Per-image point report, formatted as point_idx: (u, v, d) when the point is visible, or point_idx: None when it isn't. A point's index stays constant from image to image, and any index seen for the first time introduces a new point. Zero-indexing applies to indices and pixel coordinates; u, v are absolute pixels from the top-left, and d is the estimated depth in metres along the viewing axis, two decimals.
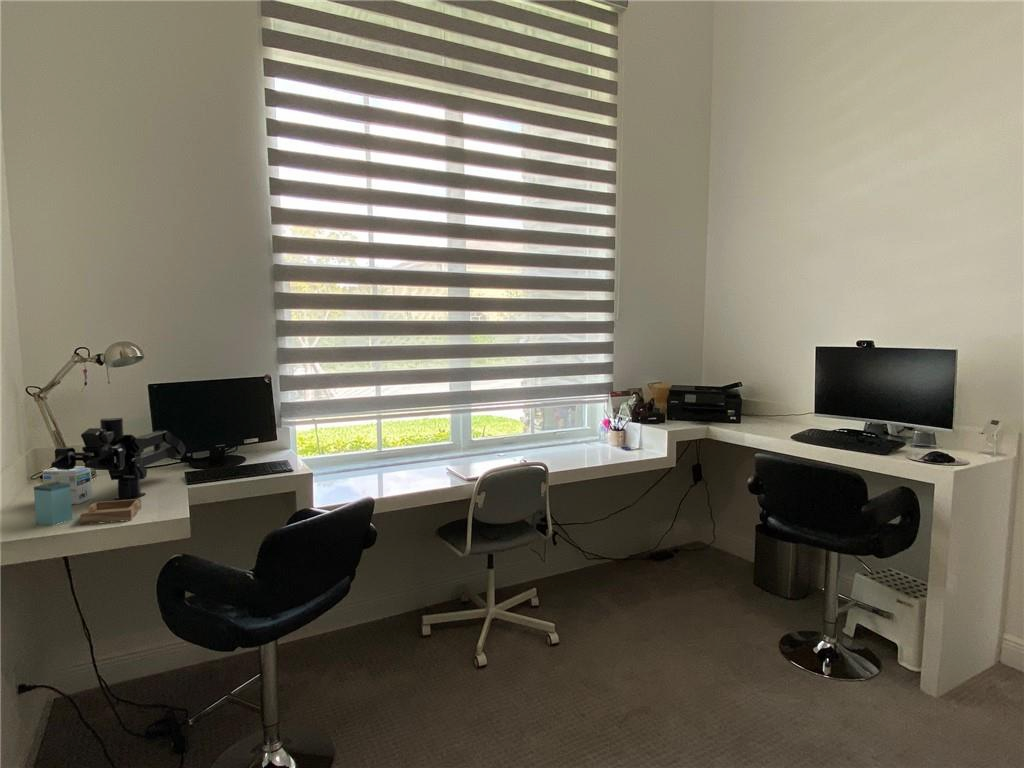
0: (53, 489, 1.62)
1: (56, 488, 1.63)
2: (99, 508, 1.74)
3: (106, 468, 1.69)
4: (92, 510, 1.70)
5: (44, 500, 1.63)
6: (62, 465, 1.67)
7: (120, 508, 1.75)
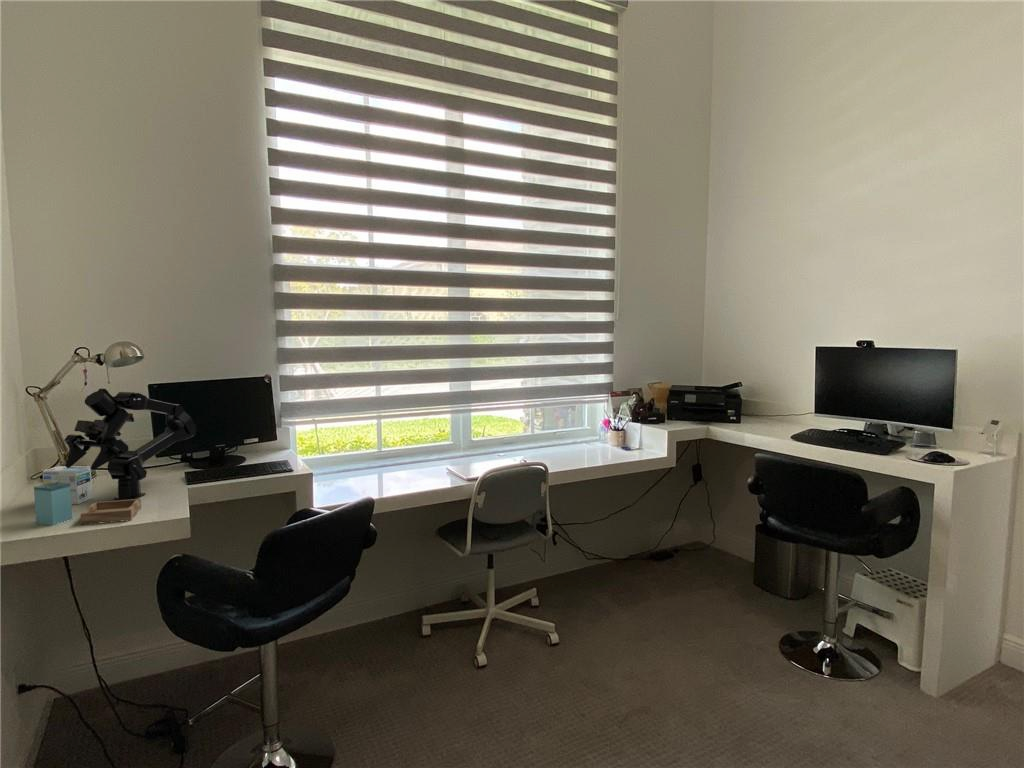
0: (53, 489, 1.62)
1: (56, 488, 1.63)
2: (99, 508, 1.74)
3: (113, 457, 1.76)
4: (92, 510, 1.70)
5: (44, 500, 1.63)
6: (77, 457, 1.77)
7: (120, 508, 1.75)
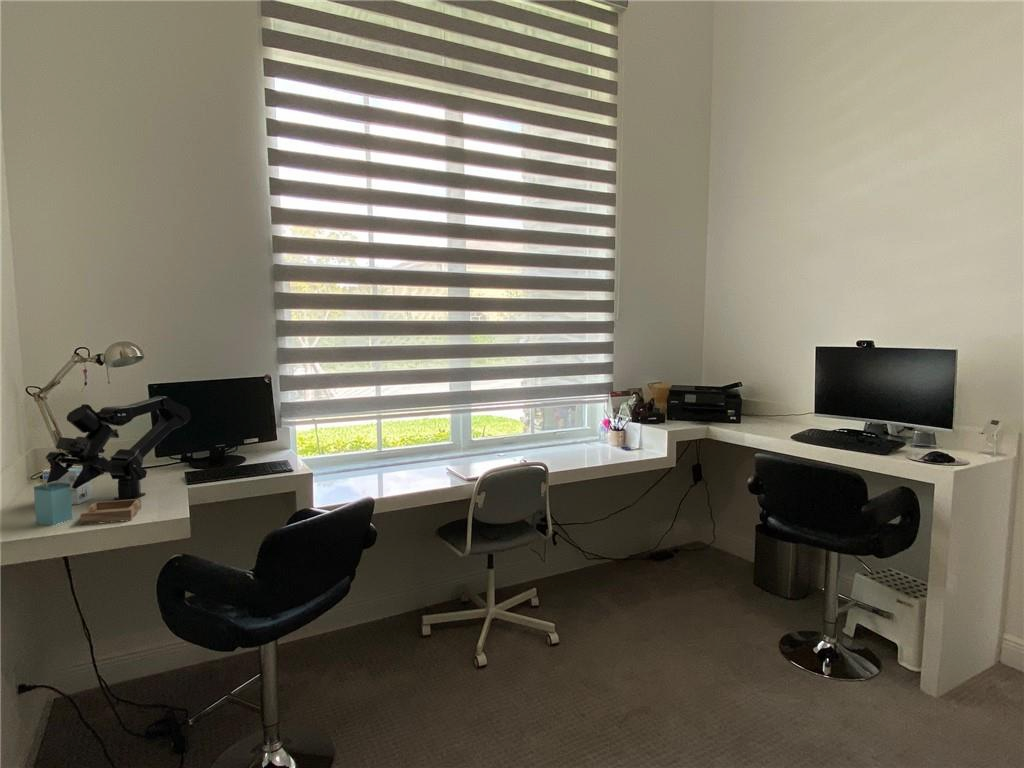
0: (53, 489, 1.62)
1: (56, 488, 1.63)
2: (99, 508, 1.74)
3: (96, 475, 1.71)
4: (92, 510, 1.70)
5: (44, 500, 1.63)
6: (59, 475, 1.72)
7: (120, 508, 1.75)
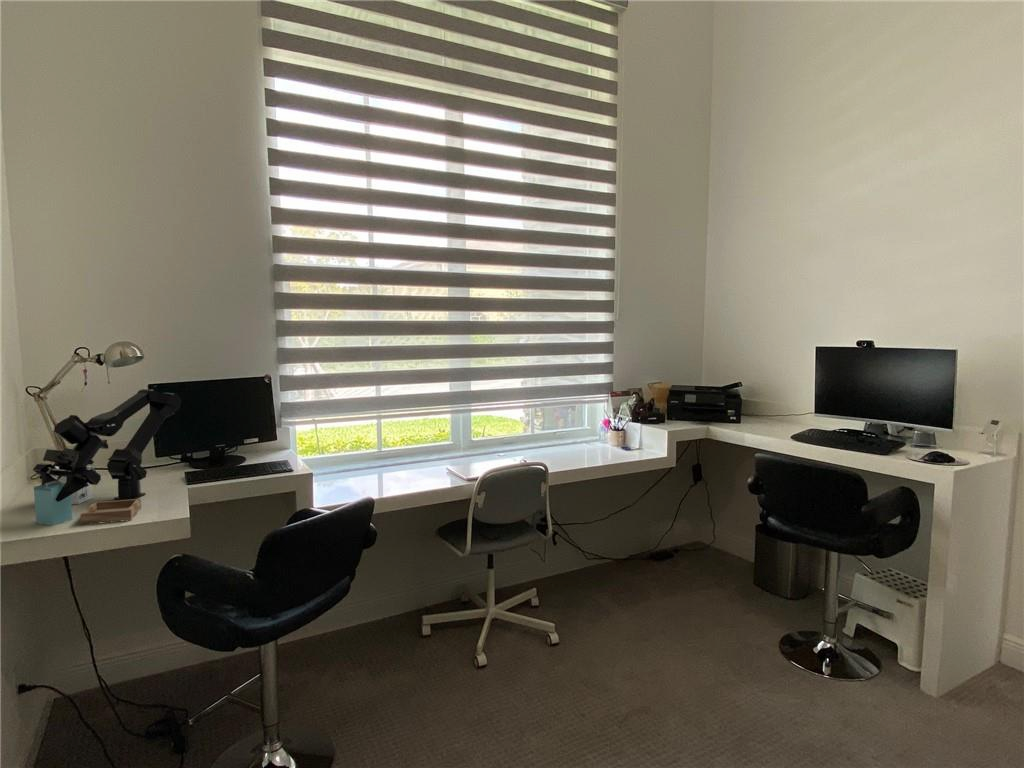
0: (53, 489, 1.62)
1: (56, 488, 1.63)
2: (99, 508, 1.74)
3: (80, 487, 1.68)
4: (92, 510, 1.70)
5: (44, 500, 1.63)
6: None
7: (120, 508, 1.75)
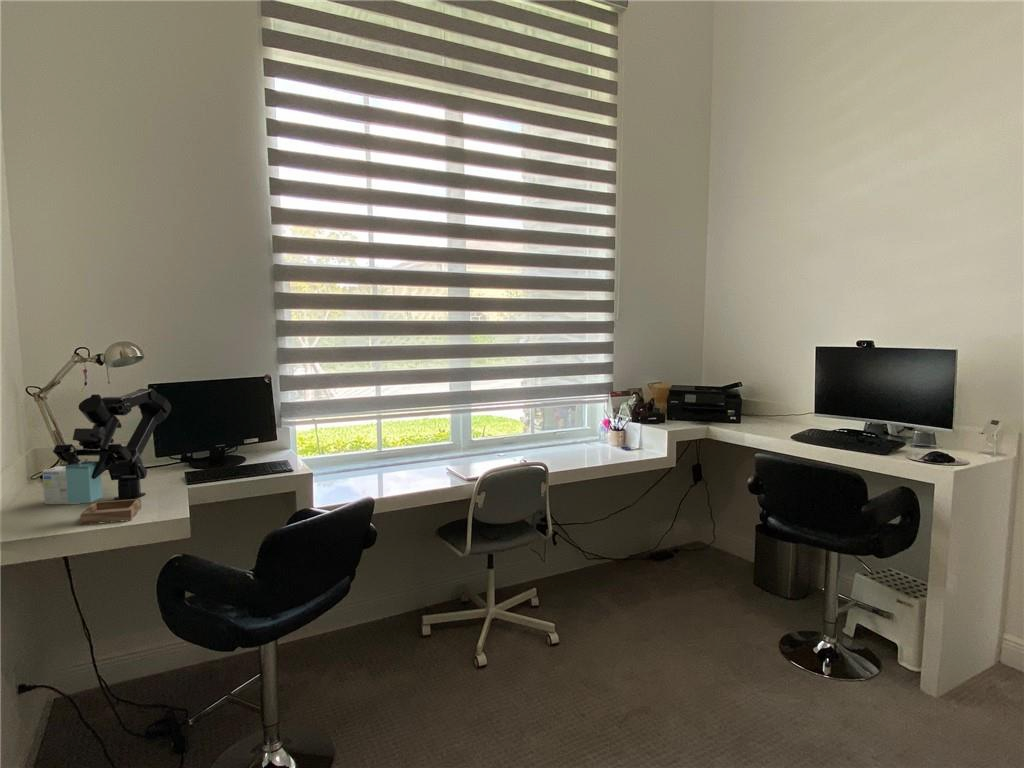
0: (89, 466, 1.65)
1: (91, 465, 1.66)
2: (99, 508, 1.74)
3: (111, 464, 1.71)
4: (92, 510, 1.70)
5: (80, 478, 1.64)
6: None
7: (120, 508, 1.75)
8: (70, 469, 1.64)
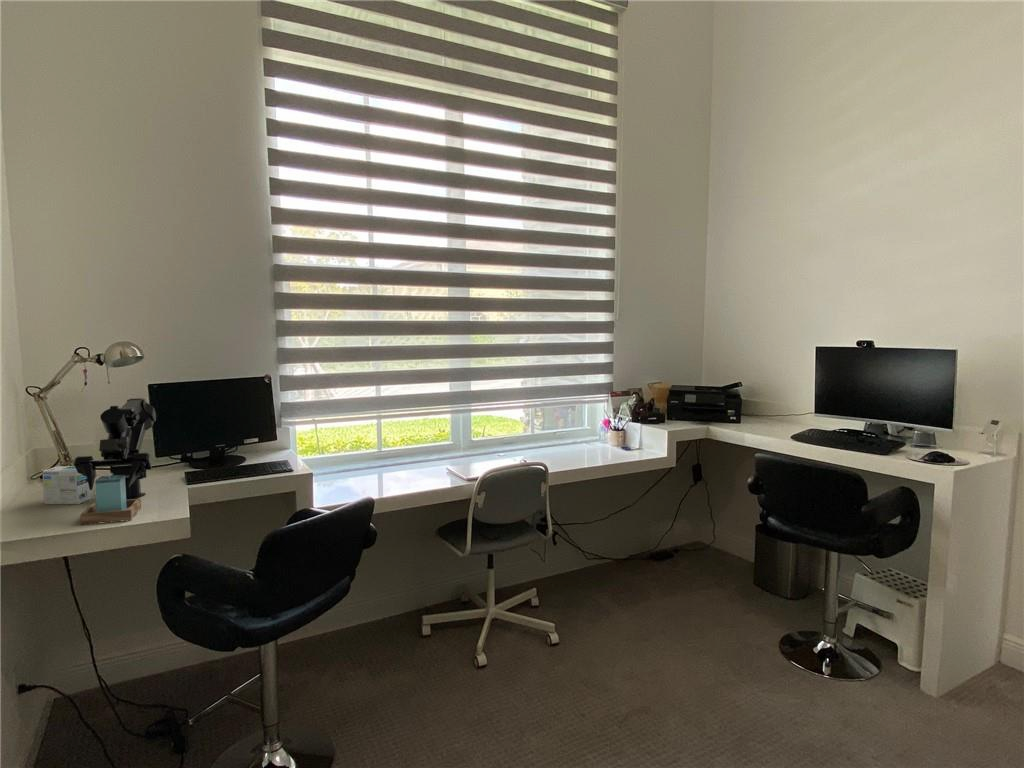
0: (120, 479, 1.69)
1: (121, 479, 1.70)
2: None
3: (140, 473, 1.76)
4: (92, 510, 1.70)
5: (111, 492, 1.68)
6: (93, 479, 1.70)
7: None
8: (100, 483, 1.67)
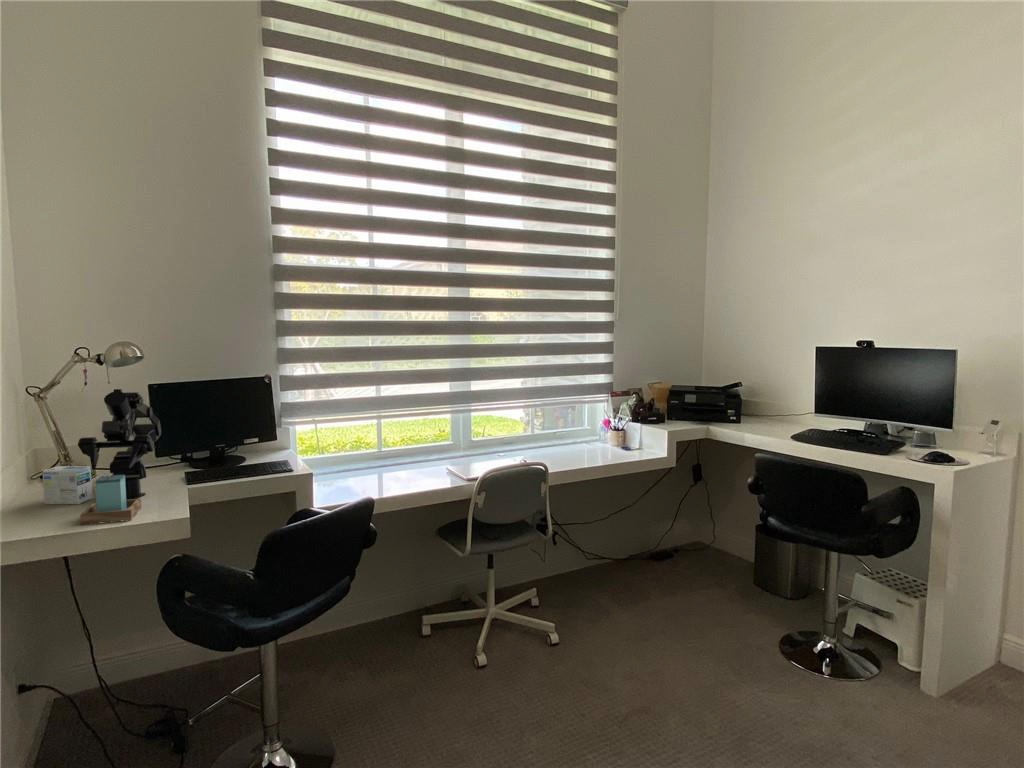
0: (120, 479, 1.69)
1: (121, 479, 1.70)
2: None
3: (141, 455, 1.81)
4: (92, 510, 1.70)
5: (111, 492, 1.68)
6: (96, 459, 1.76)
7: None
8: (100, 483, 1.67)
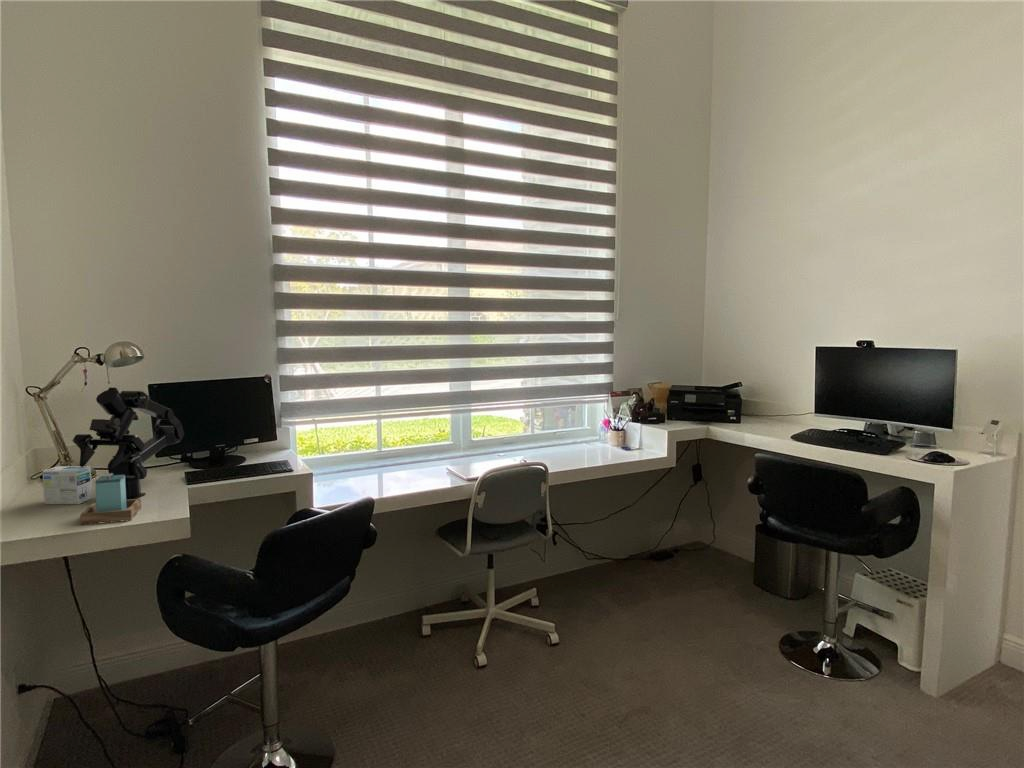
0: (120, 479, 1.69)
1: (121, 479, 1.70)
2: None
3: (130, 454, 1.80)
4: (92, 510, 1.70)
5: (111, 492, 1.68)
6: (88, 456, 1.78)
7: None
8: (100, 483, 1.67)
